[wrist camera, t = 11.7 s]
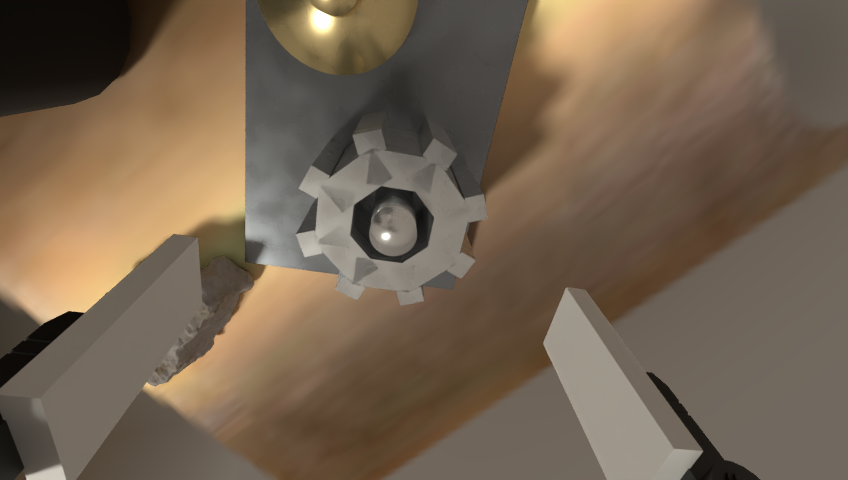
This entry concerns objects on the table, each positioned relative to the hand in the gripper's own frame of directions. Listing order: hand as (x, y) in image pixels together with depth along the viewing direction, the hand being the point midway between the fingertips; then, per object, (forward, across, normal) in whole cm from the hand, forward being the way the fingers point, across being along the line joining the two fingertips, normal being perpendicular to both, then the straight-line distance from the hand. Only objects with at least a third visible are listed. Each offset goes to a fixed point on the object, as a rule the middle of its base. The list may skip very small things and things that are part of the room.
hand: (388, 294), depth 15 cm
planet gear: (+13, 0, -1) cm, 13 cm away
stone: (+15, -13, -12) cm, 23 cm away
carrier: (+15, -2, +3) cm, 15 cm away
